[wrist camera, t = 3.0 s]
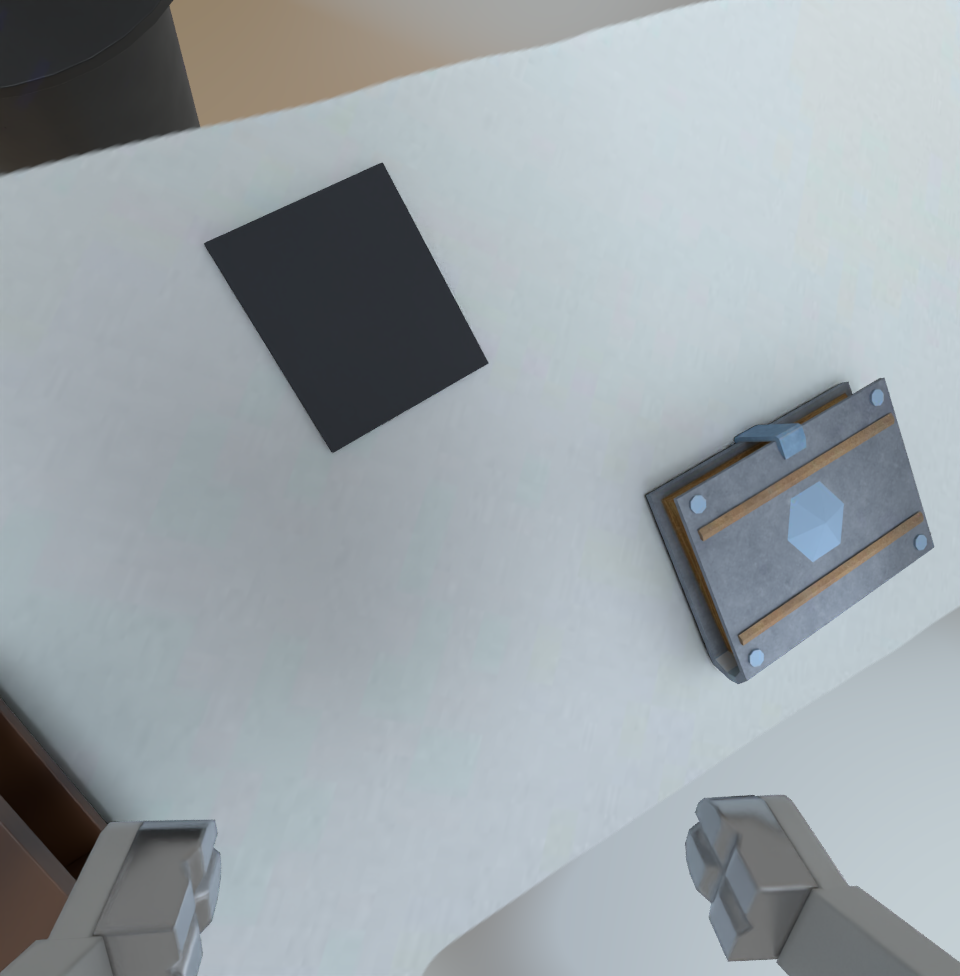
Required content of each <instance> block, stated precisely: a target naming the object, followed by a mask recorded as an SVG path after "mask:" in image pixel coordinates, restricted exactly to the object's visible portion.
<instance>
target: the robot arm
mask: <svg viewBox="0 0 960 976" xmlns="http://www.w3.org/2000/svg"><path fill="white" fill-rule="evenodd" d="M695 813H696V815H697V817H698V819H699V822H698V823H697V824H695V825H694V826H693V827H692V828H691V829H689V832H688V836H687V839H686V842H685V846H686V860H687V864H688V868H689V872H690V875H691V877H692V880H693V883H694V885H695V887H696V889H697V891H698V892H700V893H701V894H702V895H703V896H704V897H705V898H706V899H707V900H708V901H710V902H711V907H710V913H709V920H710V922H711V924H712V926H713V929H714V931H715V933H716V936H717V938H718V940H719V942H720V945H721V947H722V949H723V951H724V954H725V956H726V958H727V960H728V961H748V960H767V959H778V960H777V963H778V965H779V966H780V967H781V968H782V969H783V970H784V971H785V972H786V973H787V974H788V975H789V976H960V962H959V961H957V960H956V959H955V958H953V957H952V956H951V955H949V954H948V953H947V952H945V951H944V950H943V949H941V948H940V947H939V946H937V945H936V944H935V943H933V942H932V941H931V940H929V939H928V938H927V937H925V936H924V935H923V934H921V933H920V932H919V931H917V930H916V929H914V928H913V927H912V926H910V925H909V924H908V923H907V922H905V921H904V920H903V919H901V918H900V917H898V916H897V915H896V914H894V913H893V912H892V911H890V910H889V909H888V908H886V907H885V906H884V905H882V904H881V903H880V902H878V901H877V900H875V899H874V898H873V897H872V896H870V895H869V894H868V893H866V892H865V891H863V890H862V889H861V888H860V887H858V886H849V885H848V883H847V882H846V880H845V879H844V877H843V876H842V874H841V873H840V871H839V870H838V868H837V867H836V865H835V864H834V862H833V861H832V859H831V858H830V856H829V855H828V853H827V852H826V850H825V849H824V847H823V846H822V844H821V843H820V842H819V840H818V838H817V837H816V835H815V834H814V833H813V831H812V830H811V829H810V827H809V825H808V824H807V822H806V821H805V819H804V818H803V816H802V815H801V813H800V812H799V810H798V809H797V807H796V806H795V804H794V803H793V802H792V800H791V799H789V798H788V797H787V796H785V795H765V796H754V795H748V796H731V797H713V798H704V799H702V800H701V801H700V802H699V803H698V805H697V808H696V811H695ZM217 834H218V833H217V827H216V822H215V820H165V821H124V822H109V824H108V825H107V826H106V827H105V828H104V830H103V831H102V832H101V833H100V835H99V837H98V839H97V841H96V843H95V845H94V847H93V849H92V851H91V853H90V855H89V857H88V859H87V861H86V863H85V865H84V867H83V869H82V871H81V873H80V875H79V877H78V879H77V881H76V883H75V885H74V887H73V889H72V891H71V893H70V895H69V897H68V899H67V901H66V903H65V905H64V907H63V909H62V911H61V913H60V915H59V917H58V919H57V921H56V923H55V925H54V927H53V929H52V931H51V933H50V935H49V937H48V939H44V940H36V941H35V942H34V943H33V944H31V945H30V946H29V947H28V948H27V949H26V950H25V951H24V952H22V953H21V954H20V955H19V956H18V957H17V958H16V959H15V960H14V961H12V962H11V963H10V964H9V965H8V966H7V967H6V968H5V969H4V970H2V971H1V972H0V976H197V973H198V970H199V966H200V963H201V959H202V956H203V951H202V944H201V937H200V934H201V933H202V931H203V930H204V929H205V928H206V927H207V926H208V925H209V924H210V923H211V922H212V919H213V915H214V911H215V907H216V903H217V899H218V893H219V887H220V880H221V856H220V852H218V851H217V850H216V849H215V848H214V844H215V841H216V837H217Z"/></svg>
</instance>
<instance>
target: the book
mask: <svg viewBox="0 0 960 976" xmlns="http://www.w3.org/2000/svg"><path fill="white" fill-rule="evenodd" d="M734 441H735V444H734V445H733V446H731V447H729V448H727V449H726V450H724V451H722V452H720V453H719V454H717V455H715V456H714V457H712V458H710V459H708V460H707V461H705V462H703V463H701V464H700V465H698V466H696V467H694V468H693V469H691V470H689V471H687V472H686V473H684V474H682V475H680V476H679V477H677V478H675V479H673V480H672V481H670V482H668V483H666V484H665V485H663V486H661V487H660V488H658V489H656V490H654V491H653V492H651V493H649V494H647V495H646V497H647V499H648V502H649V504H650V507H651V509H652V512H653V514H654V517H655V519H656V522H657V524H658V527H659V529H660V532H661V534H662V537H663V539H664V542H665V545H666V547H667V550H668V552H669V555H670V557H671V560H672V562H673V565H674V567H675V570H676V572H677V575H678V577H679V580H680V582H681V585H682V587H683V590H684V592H685V595H686V597H687V600H688V602H689V605H690V607H691V610H692V613H693V615H694V618H695V620H696V623H697V625H698V628H699V630H700V633H701V635H702V638H703V640H704V643H705V645H706V648H707V650H708V653H709V655H710V658H711V660H712V663H713V664H714V665H715V666H716V667H717V668H718V669H719V670H720V671H721V672H722V673H723V674H724V675H725V676H726V677H727V678H728V679H729V680H731V681H733V682H735V683H737V684H740V683H743V682H745V681H748V680H749V679H750V678H752V677H753V676H755V675H756V674H757V673H759V672H760V671H762V670H763V669H764V668H766V667H767V666H769V665H770V664H771V663H773V662H774V661H776V660H777V659H778V658H780V657H781V656H783V655H784V654H785V653H787V652H788V651H790V650H791V649H792V648H794V647H795V646H797V645H798V644H799V643H801V642H802V641H804V640H805V639H806V638H808V637H809V636H811V635H812V634H813V633H815V632H816V631H818V630H819V629H820V628H822V627H823V626H825V625H826V624H827V623H829V622H830V621H832V620H833V619H834V618H836V617H837V616H839V615H840V614H841V613H843V612H844V611H846V610H847V609H848V608H850V607H851V606H853V605H854V604H855V603H857V602H858V601H860V600H861V599H862V598H864V597H865V596H867V595H868V594H869V593H871V592H872V591H874V590H875V589H876V588H878V587H879V586H881V585H882V584H883V583H885V582H886V581H888V580H889V579H890V578H892V577H893V576H895V575H896V574H897V573H899V572H900V571H902V570H903V569H904V568H906V567H907V566H909V565H910V564H911V563H913V562H914V561H916V560H917V559H918V558H920V557H921V556H923V555H924V554H925V553H927V552H928V551H930V550H931V549H932V548H934V544H933V541H932V537H931V534H930V531H929V527H928V524H927V520H926V517H925V514H924V510H923V507H922V503H921V500H920V497H919V493H918V490H917V487H916V483H915V480H914V476H913V473H912V470H911V466H910V463H909V459H908V456H907V453H906V449H905V446H904V443H903V439H902V436H901V432H900V429H899V426H898V422H897V419H896V416H895V412H894V409H893V405H892V402H891V399H890V395H889V392H888V388H887V385H886V382H885V378H879V379H878V380H876V381H874V382H872V383H871V384H869V385H867V386H866V387H864V388H862V389H860V390H859V391H857V392H855V393H854V394H852V392H851V389H850V385H849V382H844V383H841V384H839V385H837V386H835V387H834V388H832V389H830V390H828V391H827V392H825V393H823V394H822V395H820V396H818V397H816V398H815V399H813V400H811V401H809V402H808V403H806V404H804V405H802V406H801V407H799V408H797V409H795V410H794V411H792V412H790V413H788V414H787V415H785V416H783V417H781V418H780V419H778V420H776V421H774V422H773V423H771V424H769V425H756V426H754V427H752V428H750V429H749V430H747V431H745V432H743V433H742V434H740V435H738V436H736V437H735V438H734Z"/></svg>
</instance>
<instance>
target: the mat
mask: <svg viewBox="0 0 960 976" xmlns="http://www.w3.org/2000/svg"><path fill="white" fill-rule="evenodd" d="M204 244H205V246H206V248H207V250H208V251H209V253H210V255H211V256H212V258H213V259H214V261H215V263H216V264H217V266H218V268H219V269H220V271H221V273H222V274H223V276H224V277H225V279H226V281H227V282H228V284H229V286H230V287H231V289H232V290H233V292H234V294H235V295H236V297H237V299H238V300H239V302H240V303H241V305H242V307H243V308H244V310H245V312H246V313H247V315H248V317H249V318H250V320H251V321H252V323H253V325H254V326H255V328H256V330H257V331H258V333H259V334H260V336H261V338H262V339H263V341H264V343H265V344H266V346H267V347H268V349H269V351H270V352H271V354H272V356H273V357H274V359H275V360H276V362H277V364H278V365H279V367H280V369H281V370H282V372H283V374H284V375H285V377H286V378H287V380H288V382H289V383H290V385H291V387H292V388H293V390H294V391H295V393H296V395H297V396H298V398H299V400H300V401H301V403H302V404H303V406H304V408H305V409H306V411H307V413H308V414H309V416H310V418H311V419H312V421H313V422H314V424H315V426H316V427H317V429H318V431H319V432H320V434H321V435H322V437H323V439H324V440H325V442H326V444H327V445H328V447H329V448H330V450H331V452H332V453H333V452H335V451H337V450H338V449H340V448H342V447H344V446H345V445H347V444H349V443H351V442H352V441H354V440H356V439H357V438H359V437H361V436H363V435H364V434H366V433H368V432H370V431H371V430H373V429H375V428H377V427H378V426H380V425H382V424H384V423H385V422H387V421H389V420H391V419H392V418H394V417H396V416H397V415H399V414H401V413H403V412H404V411H406V410H408V409H410V408H411V407H413V406H415V405H417V404H418V403H420V402H422V401H424V400H425V399H427V398H429V397H430V396H432V395H434V394H436V393H437V392H439V391H441V390H443V389H444V388H446V387H448V386H450V385H451V384H453V383H455V382H457V381H458V380H460V379H462V378H464V377H465V376H467V375H469V374H470V373H472V372H474V371H476V370H477V369H479V368H481V367H483V366H484V365H486V364H488V361H487V359H486V358H485V356H484V354H483V352H482V350H481V348H480V346H479V344H478V342H477V340H476V339H475V337H474V335H473V333H472V331H471V329H470V327H469V325H468V323H467V322H466V320H465V318H464V316H463V314H462V312H461V310H460V308H459V306H458V304H457V303H456V301H455V299H454V297H453V295H452V293H451V291H450V289H449V287H448V286H447V284H446V282H445V280H444V278H443V276H442V274H441V272H440V270H439V268H438V267H437V265H436V263H435V261H434V259H433V257H432V255H431V253H430V251H429V249H428V248H427V246H426V244H425V242H424V240H423V238H422V236H421V234H420V232H419V231H418V229H417V227H416V225H415V223H414V221H413V219H412V217H411V215H410V213H409V212H408V210H407V208H406V206H405V204H404V202H403V200H402V198H401V196H400V195H399V193H398V191H397V189H396V187H395V185H394V183H393V181H392V179H391V177H390V176H389V174H388V172H387V170H386V168H385V166H384V164H383V163H380V164H378V165H375V166H373V167H371V168H369V169H367V170H364V171H362V172H360V173H358V174H356V175H353V176H351V177H349V178H347V179H345V180H342V181H340V182H338V183H336V184H334V185H331V186H329V187H327V188H325V189H323V190H320V191H318V192H316V193H314V194H312V195H309V196H307V197H305V198H303V199H301V200H298V201H296V202H294V203H292V204H290V205H287V206H285V207H283V208H281V209H279V210H276V211H274V212H272V213H270V214H268V215H265V216H263V217H261V218H259V219H257V220H254V221H252V222H250V223H248V224H246V225H243V226H241V227H239V228H237V229H234V230H232V231H230V232H228V233H226V234H223V235H221V236H219V237H217V238H215V239H212V240H210V241H208V242H206V243H204Z"/></svg>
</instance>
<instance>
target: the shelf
mask: <svg viewBox="0 0 960 976" xmlns="http://www.w3.org/2000/svg"><path fill="white" fill-rule="evenodd" d="M106 826H107V824H106V822H105V821H104V820H103V819H102V818H101V816H100V815H99V814H98V813H97V812H96V810H95V809H94V808H93V807H92V806H91V805H90V803H89V802H88V801H87V800H86V799H85V797H84V796H83V795H82V794H81V793H80V791H79V790H78V789H77V788H76V787H75V786H74V784H73V783H72V782H71V781H70V780H69V778H68V777H67V776H66V775H65V774H64V772H63V771H62V770H61V769H60V768H59V767H58V765H57V764H56V763H55V762H54V761H53V759H52V758H51V757H50V756H49V755H48V753H47V752H46V751H45V750H44V749H43V747H42V746H41V745H40V744H39V743H38V742H37V740H36V739H35V738H34V737H33V736H32V734H31V733H30V732H29V731H28V730H27V728H26V727H25V726H24V725H23V724H22V723H21V721H20V720H19V719H18V718H17V717H16V715H15V714H14V713H13V712H12V711H11V709H10V708H9V707H8V706H7V705H6V704H5V702H4V701H3V700H2V699H1V698H0V972H1V971H2V970H4V969H5V968H6V967H7V966H8V965H9V964H10V963H11V962H12V961H14V960H15V959H16V958H17V957H18V956H19V955H20V954H21V953H22V952H24V951H25V950H26V949H27V948H28V947H29V946H30V945H31V944H33V943H34V942H35V941H36V940H44V939H48V937H49V935H50V933H51V931H52V929H53V927H54V925H55V923H56V921H57V919H58V917H59V915H60V913H61V911H62V909H63V907H64V905H65V903H66V901H67V899H68V897H69V895H70V893H71V891H72V889H73V887H74V885H75V883H76V881H77V879H78V877H79V875H80V873H81V871H82V869H83V867H84V865H85V863H86V861H87V859H88V857H89V855H90V853H91V851H92V849H93V847H94V845H95V843H96V841H97V839H98V837H99V835H100V833H101V832H102V831H103V830H104V828H105V827H106Z"/></svg>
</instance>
